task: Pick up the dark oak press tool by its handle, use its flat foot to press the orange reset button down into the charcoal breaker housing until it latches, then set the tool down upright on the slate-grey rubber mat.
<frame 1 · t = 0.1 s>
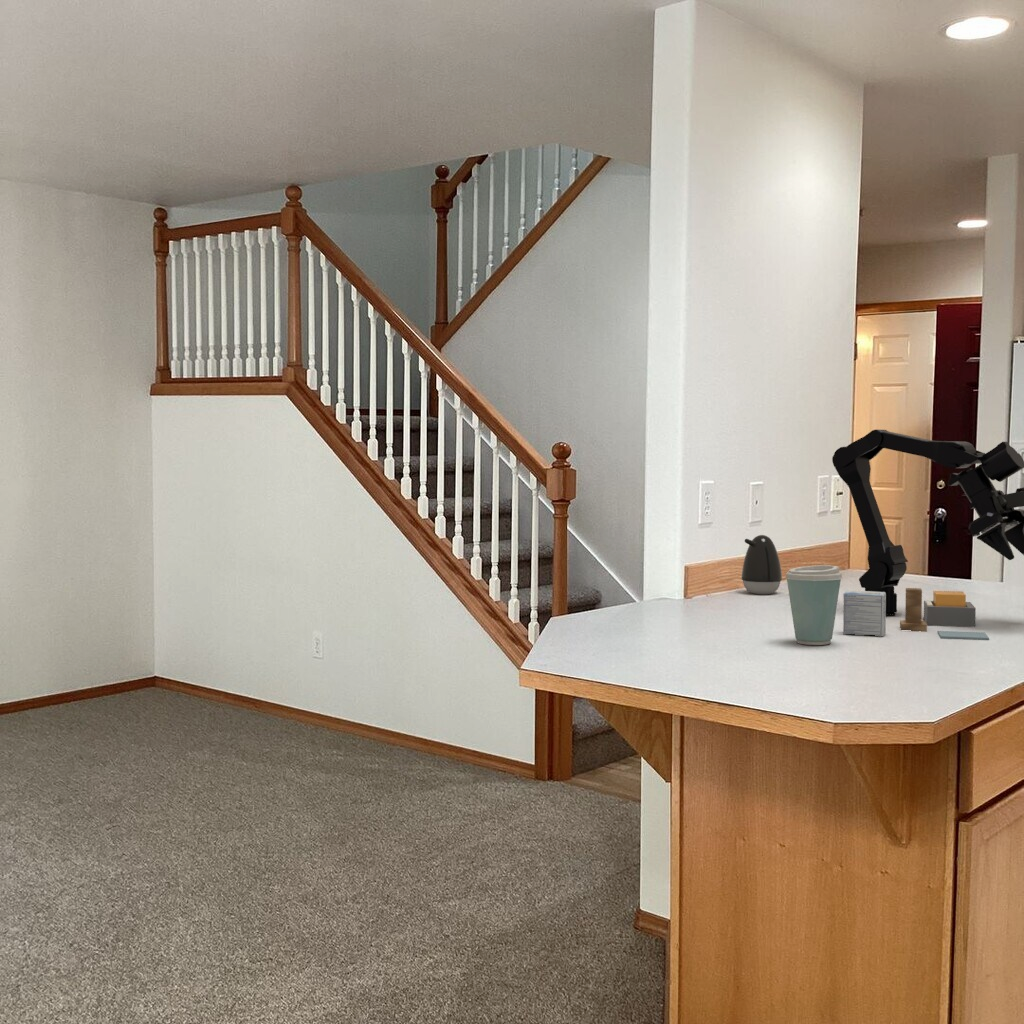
hand: (1020, 557, 243), 15 cm above the table, tool tilted 35°, fingers open, 9 cm apart
rubber mat: (962, 636, 235), on the table
breaker housing: (948, 622, 252), on the table
reset button: (949, 600, 252), point 5 cm above the table, slide at 0.0 cm
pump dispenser: (761, 594, 303), on the table
press tool: (913, 629, 244), on the table
medicine box: (864, 635, 238), on the table
disposable coffee cup: (812, 643, 228), on the table
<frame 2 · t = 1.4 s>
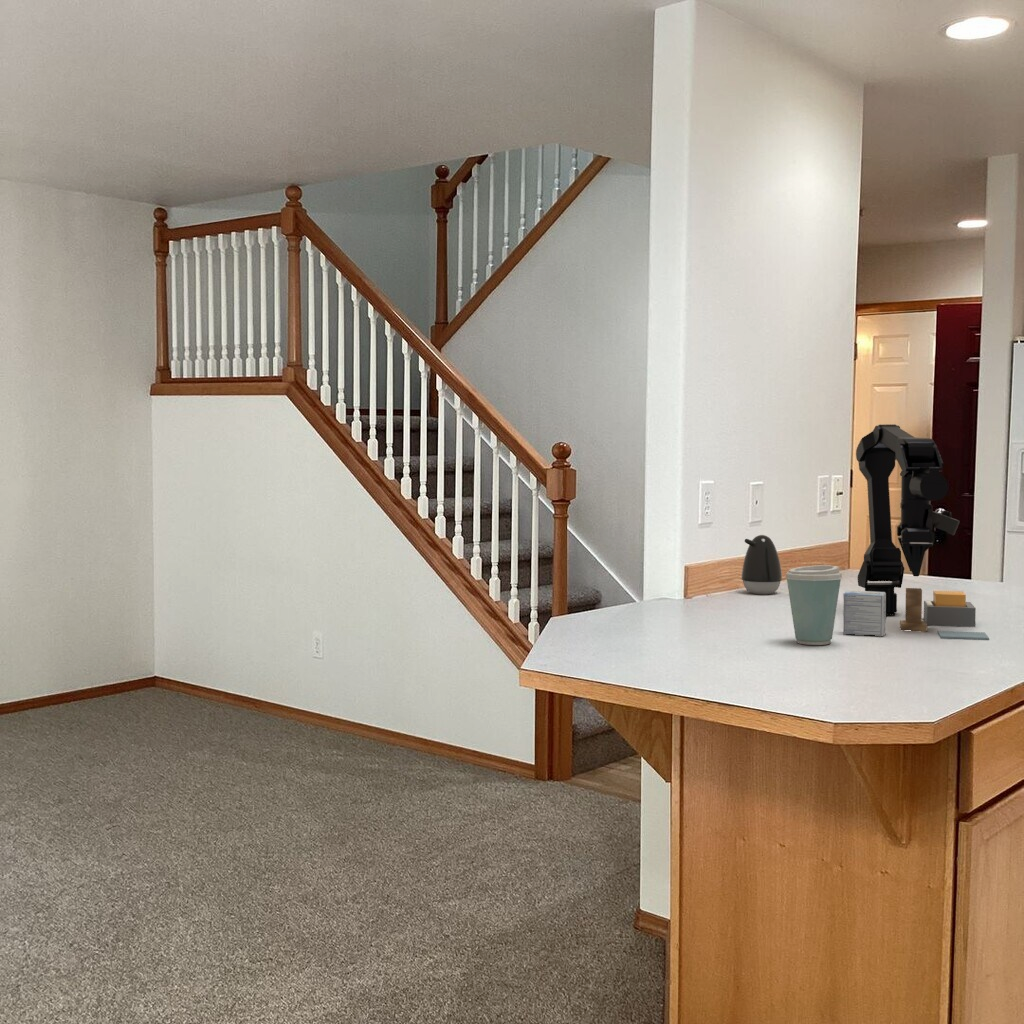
hand: (914, 573, 243), 12 cm above the table, tool pointing down, fingers open, 9 cm apart
nothing on the table moved.
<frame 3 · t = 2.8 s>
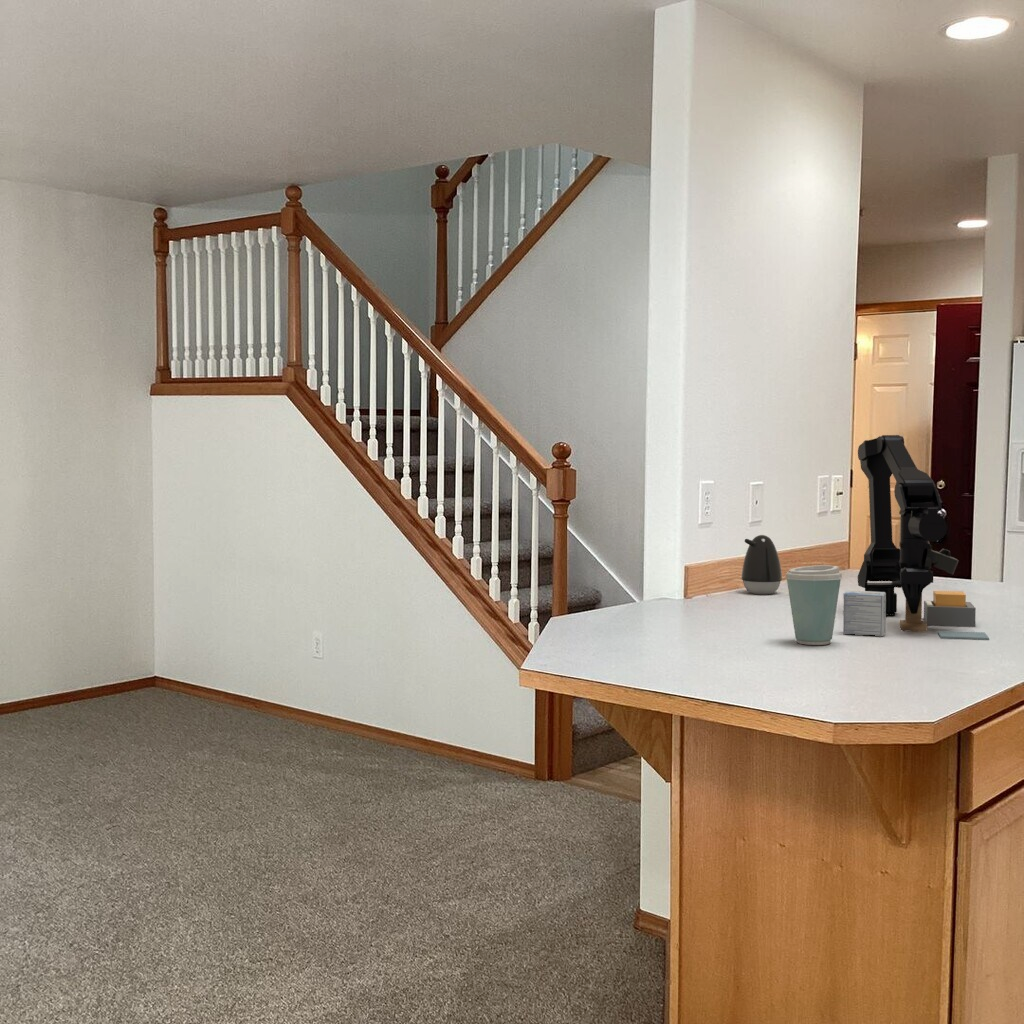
hand: (913, 612, 244), 4 cm above the table, tool pointing down, fingers closed on press tool, 3 cm apart
press tool: (913, 629, 244), on the table, touching gripper
everything else where it was.
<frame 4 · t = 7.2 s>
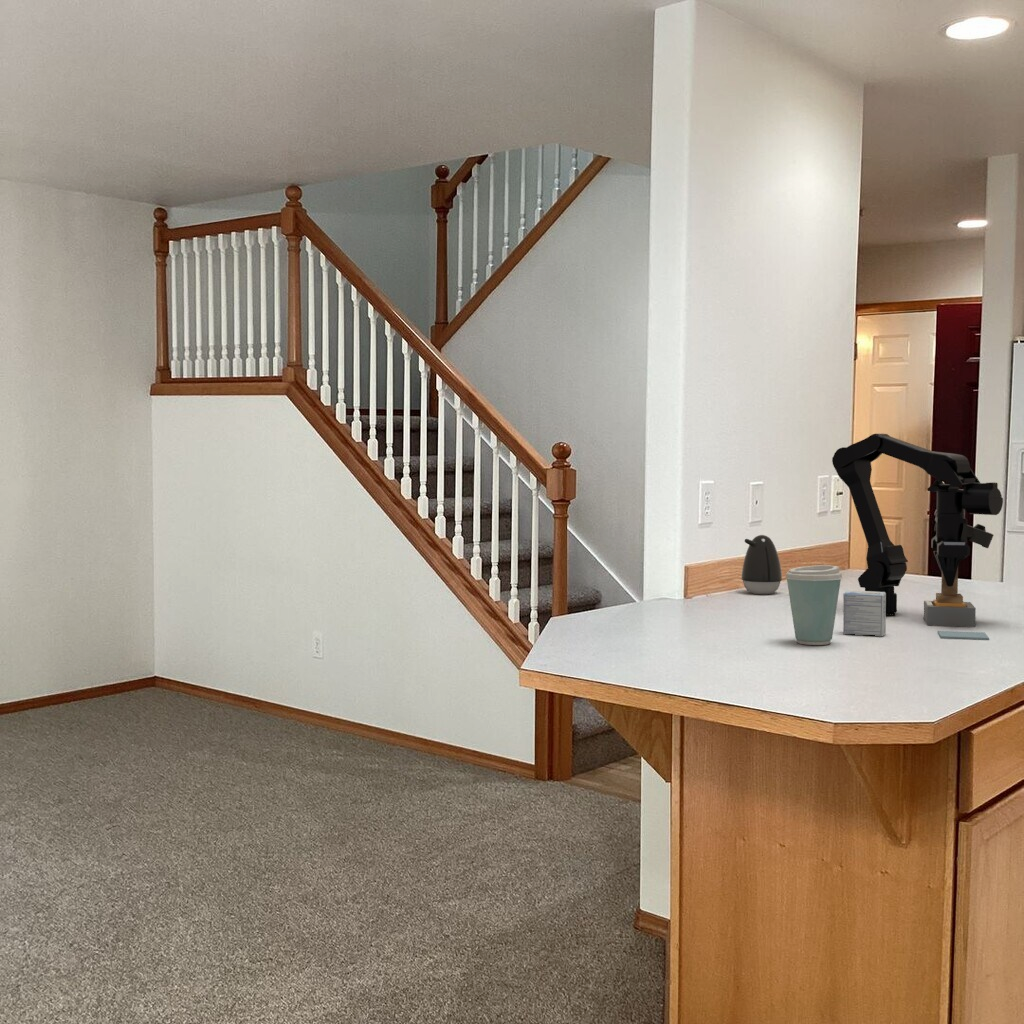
hand: (949, 585, 252), 8 cm above the table, tool pointing down, fingers closed on press tool, 3 cm apart
reset button: (949, 609, 252), point 3 cm above the table, slide at 1.9 cm
press tool: (949, 601, 252), point 5 cm above the table, touching gripper
everything else where it was.
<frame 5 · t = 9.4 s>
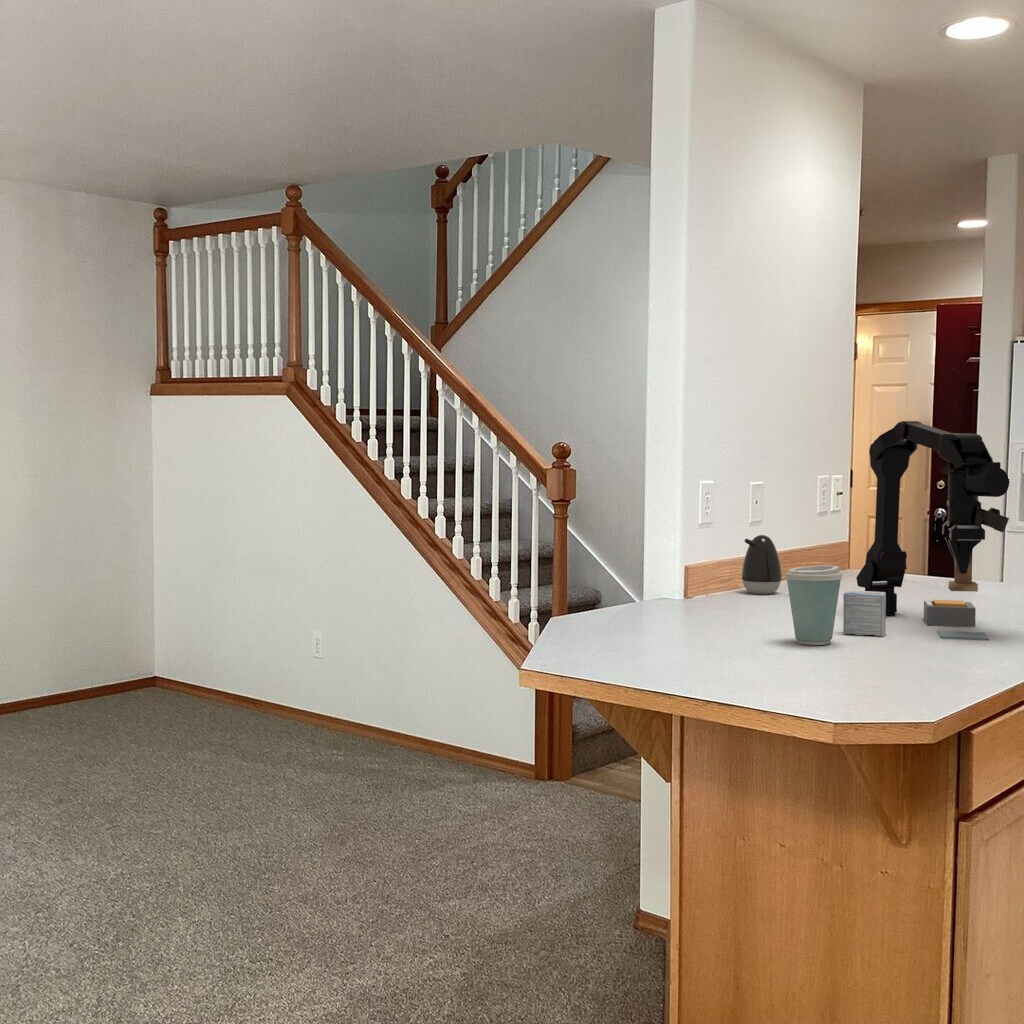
hand: (962, 572, 237), 12 cm above the table, tool pointing down, fingers closed on press tool, 3 cm apart
press tool: (962, 590, 237), point 9 cm above the table, touching gripper
everything else where it was.
when the fingers open (6 cm above the table, at t = 11.5 s): press tool drops 2 cm, resting on rubber mat.
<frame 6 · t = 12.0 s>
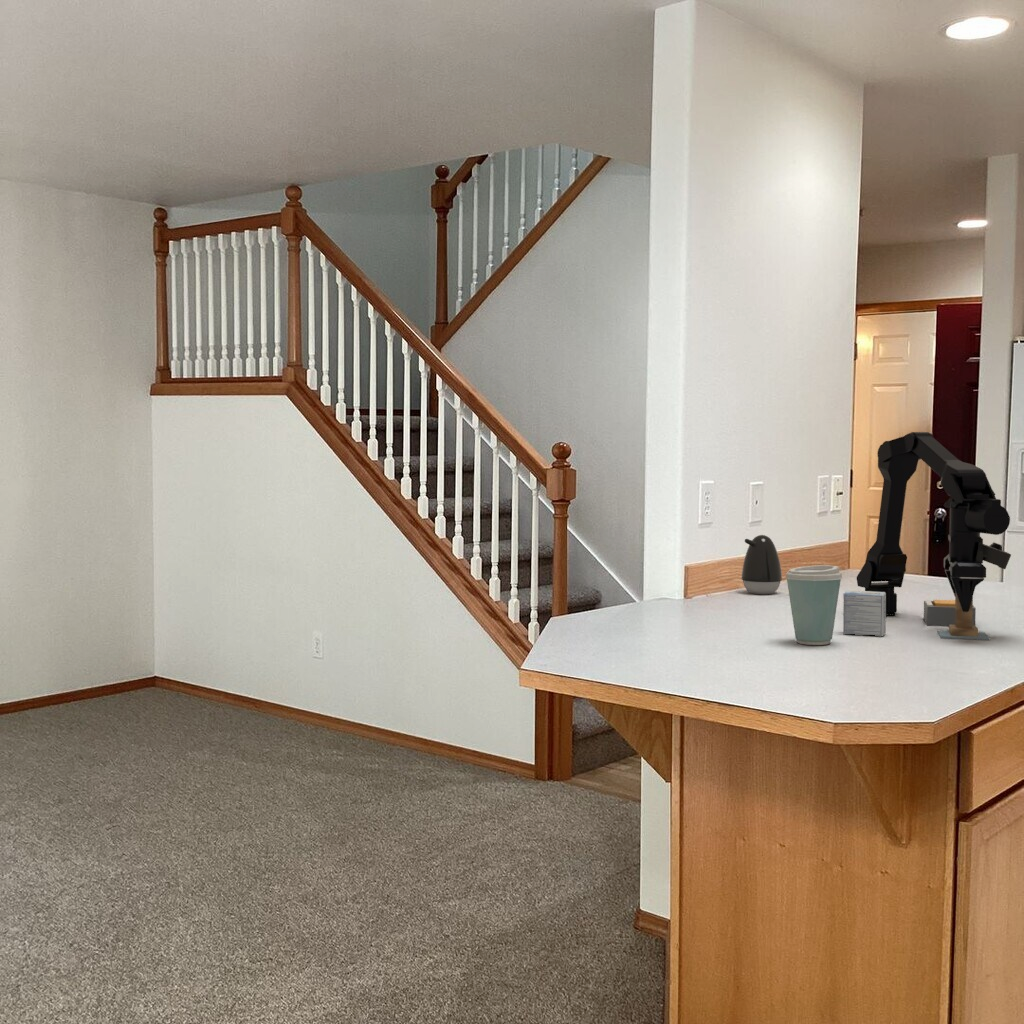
hand: (963, 608, 235), 6 cm above the table, tool pointing down, fingers open, 8 cm apart
press tool: (963, 634, 235), resting on rubber mat
everything else where it was.
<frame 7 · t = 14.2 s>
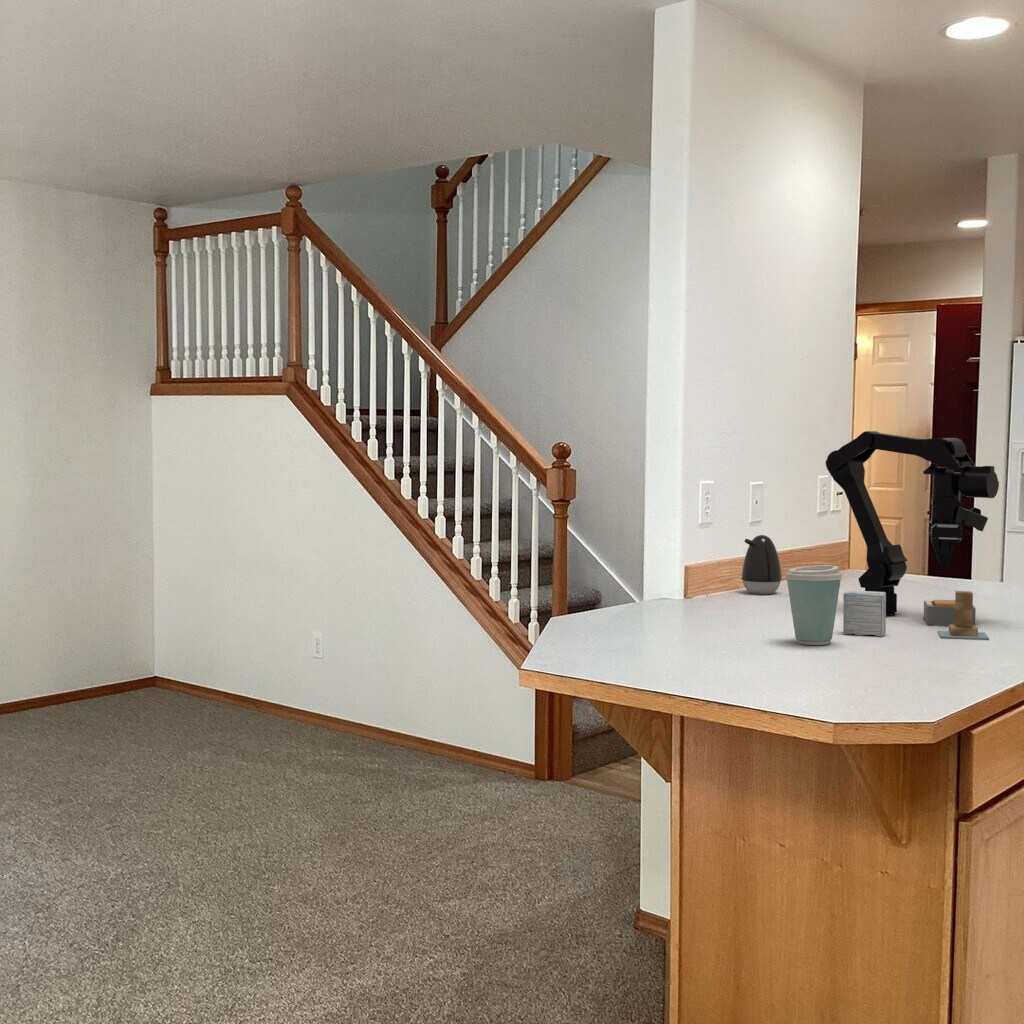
hand: (943, 567, 254), 12 cm above the table, tool pointing down, fingers open, 9 cm apart
nothing on the table moved.
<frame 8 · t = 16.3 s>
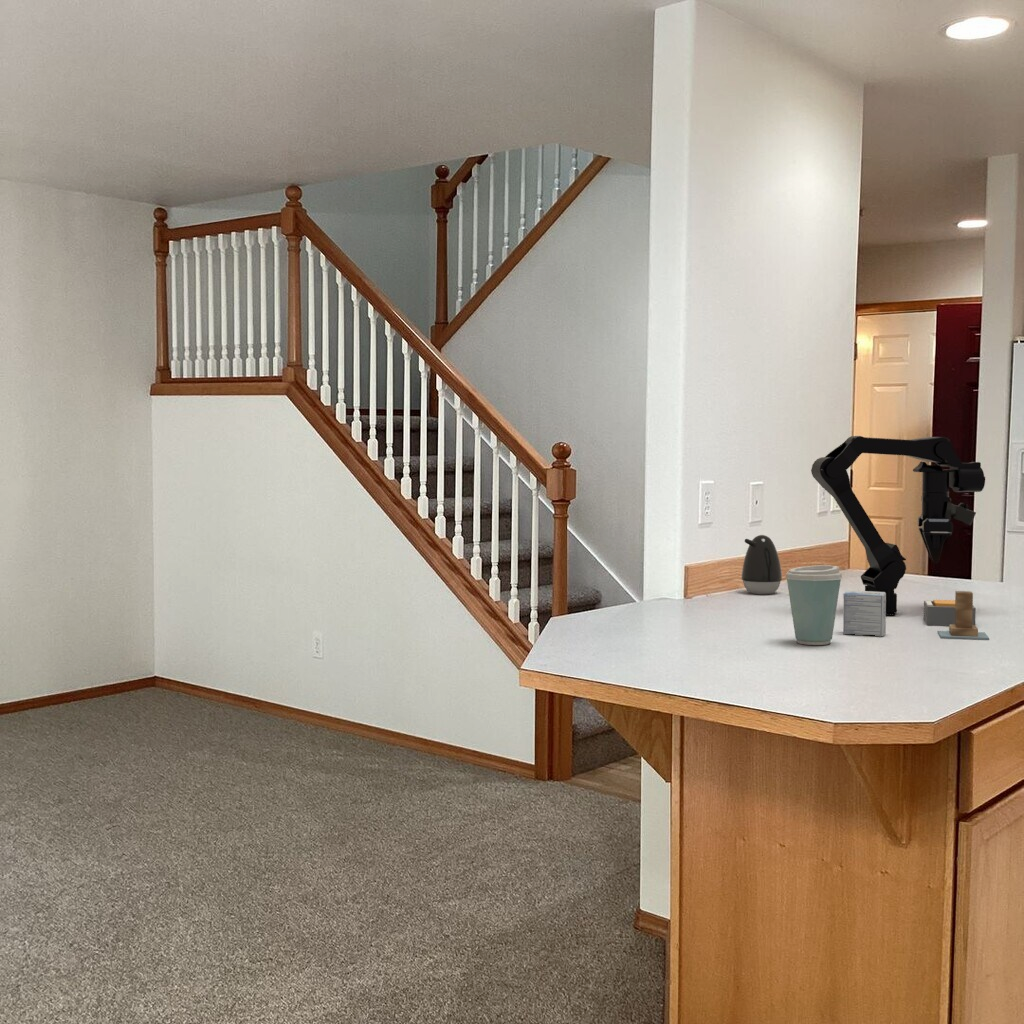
hand: (934, 560, 266), 12 cm above the table, tool pointing down, fingers open, 9 cm apart
nothing on the table moved.
at the end: reset button slide at 2.0 cm; press tool 0.1 cm off-centre on the rubber mat, point 0.4 cm above the rubber mat's base; press tool tilted 0° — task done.
